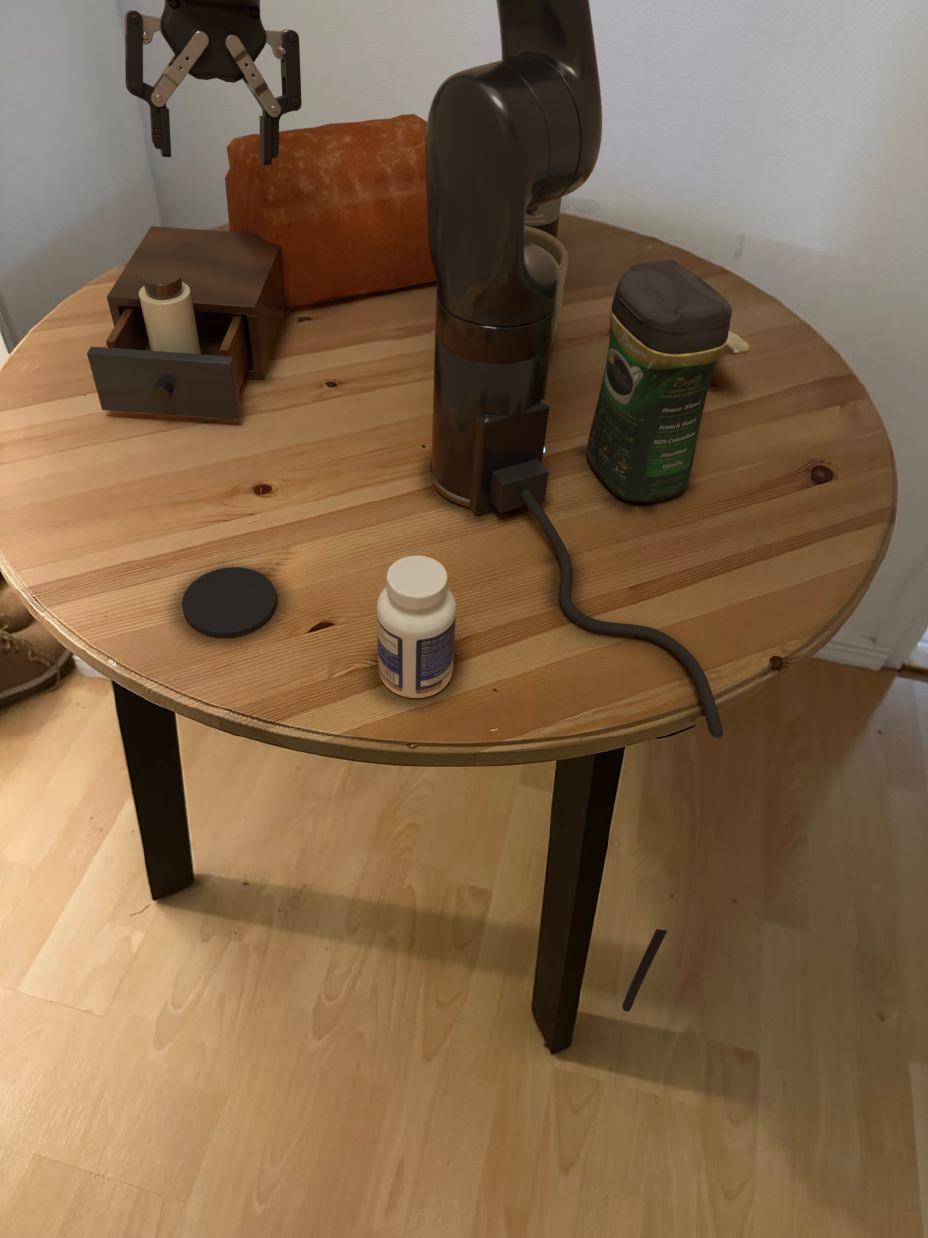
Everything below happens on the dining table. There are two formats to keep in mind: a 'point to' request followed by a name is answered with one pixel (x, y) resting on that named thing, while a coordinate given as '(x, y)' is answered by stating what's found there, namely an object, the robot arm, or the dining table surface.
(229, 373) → the drawer
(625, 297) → the coffee jar
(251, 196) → the bread
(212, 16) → the robot arm
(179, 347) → the cream bottle
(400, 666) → the pill bottle
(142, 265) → the cabinet
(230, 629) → the coaster
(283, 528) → the dining table surface
